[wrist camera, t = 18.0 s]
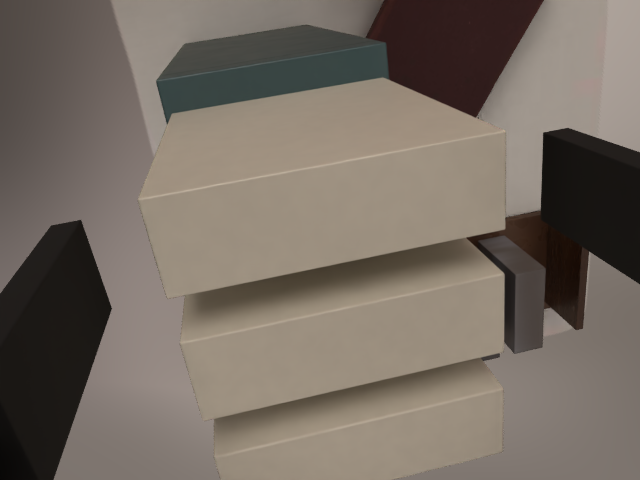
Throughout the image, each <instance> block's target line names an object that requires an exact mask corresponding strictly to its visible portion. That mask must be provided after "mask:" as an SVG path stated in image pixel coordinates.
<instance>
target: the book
mask: <svg viewBox="0 0 640 480" xmlns="http://www.w3.org/2000/svg"><path fill="white" fill-rule="evenodd" d="M543 1H544V0H384V2H383V4H382V6H381V8H380V10H379V12H378V14H377V16H376V18H375V20H374V22H373V24H372V26H371V28H370V30H369V32H368V34H367V36H366V38H368V39H372V40H377V41H381V42H385V43H386V46H387V59H388V71H389V80H390V81H392V82H395V83H397V84H399V85H402V86H404V87H406V88H409V89H411V90H413V91H415V92H418V93H420V94H422V95H425V96H427V97H429V98H431V99H434V100H436V101H438V102H441V103H443V104H445V105H448V106H450V107H452V108H454V109H457V110H459V111H461V112H464V113H466V114H468V115H470V116H473V117H475V118H476V116H477V115H478V113H479V111H480V110H481V108H482V106H483V104H484V103H485V101H486V99H487V97H488V96H489V94H490V92H491V90H492V88H493V87H494V85H495V83H496V81H497V79H498V78H499V76H500V74H501V73H502V71H503V69H504V68H505V66H506V64H507V62H508V61H509V59H510V57H511V55H512V54H513V52H514V50H515V48H516V47H517V45H518V43H519V42H520V40H521V38H522V36H523V35H524V33H525V31H526V30H527V28H528V26H529V25H530V23H531V21H532V19H533V18H534V16H535V14H536V13H537V11H538V9H539V7H540V6H541V4H542V2H543Z"/></svg>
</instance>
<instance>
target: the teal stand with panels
mask: <svg viewBox="0 0 640 480" xmlns="http://www.w3.org/2000/svg"><path fill="white" fill-rule="evenodd" d="M377 78H386V79H388V80H389V71H388V59H387V46H386V43H385V42H381V41H377V40H372V39H368V38H363V37H359V36H355V35H350V34H346V33H341V32H337V31H332V30H328V29H323V28H319V27H314V26H310V25H301V26H295V27H289V28H282V29H276V30H270V31H264V32H257V33H251V34H245V35H238V36H232V37H226V38H219V39H213V40H207V41H200V42H194V43H188V44H184V45H183V47H182V48H181V49H180V50H179V52H178V53H177V54H176V56H175V57H174V58H173V59H172V61H171V62H170V63H169V65H168V66H167V67H166V69H165V70H164V71H163V72H162V74H161V75H160V76H159V78H158V79H157V80H156V83H157V87H158V91H159V95H160V98H161V102H162V106H163V110H164V114H165V118H166V122H167V124H168V122H169V119H170V117H171V114H172V113H178V112H184V111H190V110H196V109H202V108H207V107H213V106H219V105H225V104H231V103H237V102H242V101H248V100H254V99H260V98H266V97H272V96H277V95H283V94H289V93H295V92H301V91H307V90H312V89H318V88H324V87H330V86H336V85H342V84H348V83H353V82H359V81H365V80H371V79H377ZM504 282H505V275H504V273H503V272H502V271H501V270H500V269H499V268H498V267H497V266H496V265H495V264H494V263H492V262H491V261H490V260H489V259H488V258H487V257H486V256H485V255H484V254H483V253H482V252H481V251H480V250H479V249H477V248H476V247H475V246H474V245H473V244H472V243H471V242H470V241H469V240H468V239H467V238H462V239H457V240H452V241H447V242H442V243H437V244H433V245H428V246H423V247H418V248H413V249H408V250H403V251H399V252H394V253H389V254H384V255H379V256H374V257H370V258H365V259H360V260H355V261H350V262H345V263H340V264H336V265H331V266H326V267H321V268H316V269H311V270H307V271H302V272H297V273H292V274H287V275H282V276H277V277H273V278H268V279H263V280H258V281H253V282H248V283H243V284H239V285H234V286H229V287H224V288H219V289H214V290H210V291H205V292H200V293H195V294H190V295H185V299H184V309H183V318H182V328H181V338H180V346H181V350H182V353H183V356H184V359H185V363H186V366H187V370H188V373H189V376H190V380H191V383H192V386H193V390H194V393H195V397H196V400H197V403H198V407H199V410H200V413H201V417H202V420H203V421H207V420H212V419H214V460H215V463H216V467H217V470H218V474H219V477H220V480H394V479H398V478H402V477H406V476H410V475H414V474H418V473H422V472H426V471H430V470H434V469H438V468H442V467H446V466H450V465H454V464H458V463H462V462H466V461H470V460H474V459H478V458H482V457H486V456H490V455H494V454H498V453H502V452H503V418H504V415H503V414H504V412H503V410H504V404H503V403H504V390H503V387H502V386H501V384H500V383H499V382H498V380H497V379H496V378H495V377H494V375H493V374H492V373H491V371H490V370H489V368H488V367H487V366H486V364H485V363H484V362H483V360H482V359H481V357H485V356H489V355H494V354H498V353H502V352H504Z"/></svg>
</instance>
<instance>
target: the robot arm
mask: <svg viewBox="0 0 640 480" xmlns="http://www.w3.org/2000/svg"><path fill="white" fill-rule="evenodd" d="M541 220H542V221H543V222H545V223H546V224H548V225H549V226H551V227H553V228H554V229H556V230H557V231H559V232H560V233H562V234H563V235H565V236H566V237H568V238H569V239H571V240H573V241H574V242H576V243H577V244H579V245H580V246H582V247H583V248H585V249H586V250H588V251H589V252H591V253H593V254H594V255H596V256H597V257H599V258H600V259H602V260H603V261H605V262H606V263H608V264H610V265H611V266H613V267H614V268H616V269H617V270H619V271H620V272H622V273H624V274H625V275H626V276H628V277H630V278H631V279H633V280H634V281H636V282H637V283H639V284H640V152H637V151H634V150H631V149H628V148H625V147H622V146H619V145H616V144H613V143H610V142H607V141H605V140H602V139H599V138H596V137H593V136H590V135H587V134H584V133H581V132H578V131H575V130H572V129H569V128H565V129H560V130H555V131H549V132H544V133H543V161H542V192H541ZM111 309H112V308H111V305H110V302H109V299H108V296H107V293H106V290H105V287H104V285H103V282H102V279H101V276H100V273H99V270H98V267H97V264H96V262H95V259H94V256H93V253H92V250H91V247H90V244H89V241H88V239H87V236H86V233H85V230H84V228H83V224H82V221H81V220H78V221H73V222H68V223H63V224H58V225H52V226H51V227H50V228H49V229H48V231H47V232H46V233H45V235H44V236H43V237H42V239H41V240H40V241H39V243H38V244H37V245H36V247H35V248H34V250H33V251H32V252H31V253H30V255H29V256H28V257H27V259H26V260H25V261H24V263H23V264H22V265H21V267H20V268H19V269H18V271H17V272H16V273H15V275H14V276H13V277H12V279H11V280H10V281H9V283H8V284H7V285H6V287H5V288H4V289H3V291H2V292H1V293H0V480H53V479H54V476H55V474H56V471H57V467H58V465H59V462H60V459H61V456H62V453H63V450H64V447H65V444H66V441H67V438H68V435H69V433H70V430H71V426H72V423H73V421H74V418H75V415H76V412H77V409H78V406H79V403H80V400H81V397H82V394H83V392H84V389H85V386H86V383H87V380H88V377H89V374H90V371H91V368H92V365H93V362H94V359H95V356H96V353H97V350H98V347H99V345H100V341H101V339H102V336H103V333H104V330H105V327H106V324H107V321H108V318H109V315H110V312H111Z"/></svg>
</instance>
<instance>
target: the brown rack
mask: <svg viewBox="0 0 640 480" xmlns="http://www.w3.org/2000/svg"><path fill="white" fill-rule="evenodd" d="M466 238H467V239H468V240H469V241H470V242H471V243H472V244H473V245H474V246H475V247H476V248H477V249H479V250H480V251H481V252H482V253H483V254H484V255H485V256H486V257H487V258H488V259H489V260H490V261H491V262H492V263H494V264H495V265H496V266H497V267H498V268H499V269H500V270H501V271H502V272H503V273H504V275H505V282H504V342H505V343H506V345H507V346H508V347H509V348H510V349H511V350H512V352H513V353H514V354H516V353H520V352H525V351H528V350H533V349H537V348H542V344H543V320H544V309H547V308H550V307H551V308H552V309H553V310H554V311H555V312H557V313H558V314H559V315H560V316H561V317H562V318H563V319H564V320H565V321H567V322H568V323H569V324H570V325H571V326H572V327H573V328H574V329H575V330H579V329H583V320H584V308H585V295H586V282H587V270H588V257H589V251H588V250H586V249H585V248H583V247H582V246H580V245H579V244H577V243H576V242H574V241H573V240H571V239H569V238H568V237H566V236H565V235H563V234H562V233H560V232H559V231H557V230H556V229H554V228H553V227H551V226H549V225H548V224H546V223H545V222H543V221H542V220H541V211H536V212H531V213H526V214H521V215H516V216H511V217H507V218H505V230H500V231H496V232H491V233H486V234H481V235H476V236H471V237H466ZM498 357H500V353H498V354H494V355H489V356H485V357H481V359H482V360H483V361H485V360H490V359H494V358H498Z"/></svg>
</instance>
